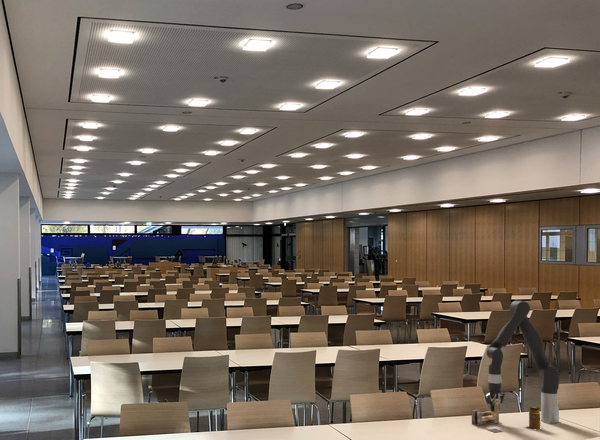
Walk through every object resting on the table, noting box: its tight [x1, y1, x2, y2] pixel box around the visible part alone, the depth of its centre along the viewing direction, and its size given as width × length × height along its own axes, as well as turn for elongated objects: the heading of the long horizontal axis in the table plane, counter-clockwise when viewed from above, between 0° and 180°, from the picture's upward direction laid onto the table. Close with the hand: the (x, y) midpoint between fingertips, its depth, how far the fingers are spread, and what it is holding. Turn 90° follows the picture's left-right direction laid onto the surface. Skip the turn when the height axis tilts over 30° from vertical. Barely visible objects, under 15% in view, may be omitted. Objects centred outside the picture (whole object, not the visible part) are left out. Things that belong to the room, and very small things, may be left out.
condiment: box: [523, 405, 544, 431], centre depth 363 cm, size 7×8×12 cm
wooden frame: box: [477, 401, 500, 426], centre depth 370 cm, size 15×3×12 cm, turn 117°
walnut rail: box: [471, 409, 492, 426], centre depth 373 cm, size 18×2×8 cm, turn 118°
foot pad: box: [487, 428, 503, 434], centre depth 356 cm, size 6×6×1 cm
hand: (495, 410), depth 373 cm, fingers closed on wooden frame, 3 cm apart
